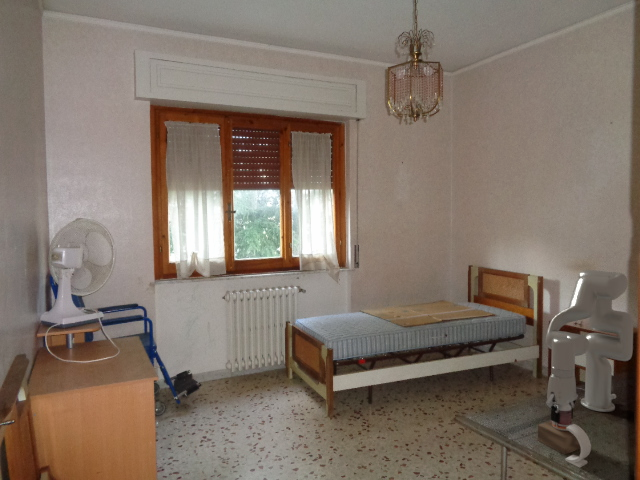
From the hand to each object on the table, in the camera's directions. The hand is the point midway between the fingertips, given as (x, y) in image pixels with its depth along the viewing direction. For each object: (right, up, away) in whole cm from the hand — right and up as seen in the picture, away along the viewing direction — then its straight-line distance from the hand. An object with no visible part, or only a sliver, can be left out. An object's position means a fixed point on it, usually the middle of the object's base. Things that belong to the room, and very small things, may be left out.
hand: (561, 419), depth 171 cm
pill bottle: (0, -3, 0) cm, 3 cm away
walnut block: (0, -9, +1) cm, 9 cm away
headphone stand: (-1, -11, -12) cm, 16 cm away
